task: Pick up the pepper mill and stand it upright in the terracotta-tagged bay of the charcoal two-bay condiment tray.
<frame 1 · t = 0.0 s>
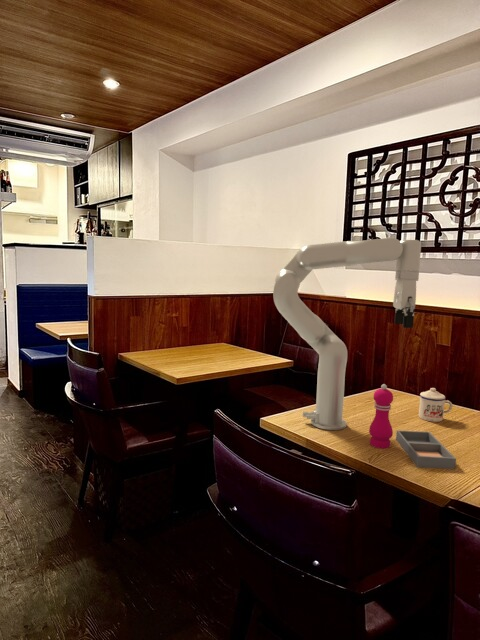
hand: (403, 325, 158), 37 cm above the table, tool pointing down, fingers open, 9 cm apart
teacup with lid: (434, 418, 174), on the table
pepper mill: (379, 445, 146), on the table
condiment tray: (423, 453, 141), on the table
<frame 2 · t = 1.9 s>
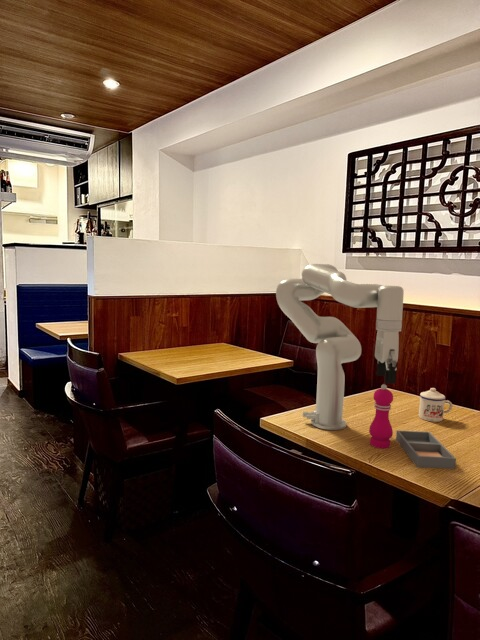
hand: (385, 379, 143), 22 cm above the table, tool pointing down, fingers open, 9 cm apart
nothing on the table moved.
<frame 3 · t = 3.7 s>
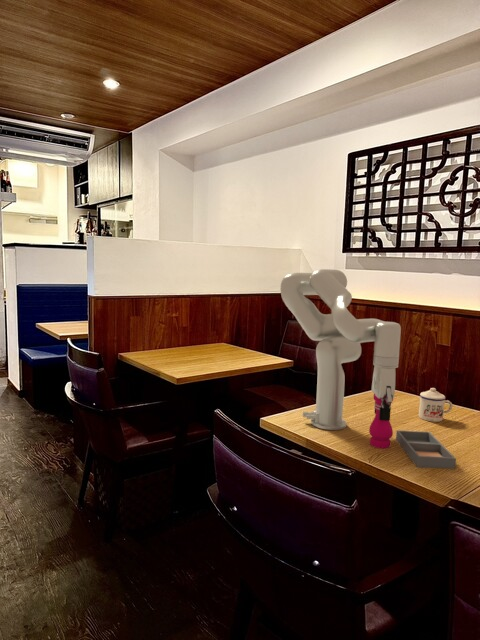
hand: (381, 416, 145), 9 cm above the table, tool pointing down, fingers closed on pepper mill, 5 cm apart
pepper mill: (379, 445, 146), on the table, touching gripper
everything else where it was.
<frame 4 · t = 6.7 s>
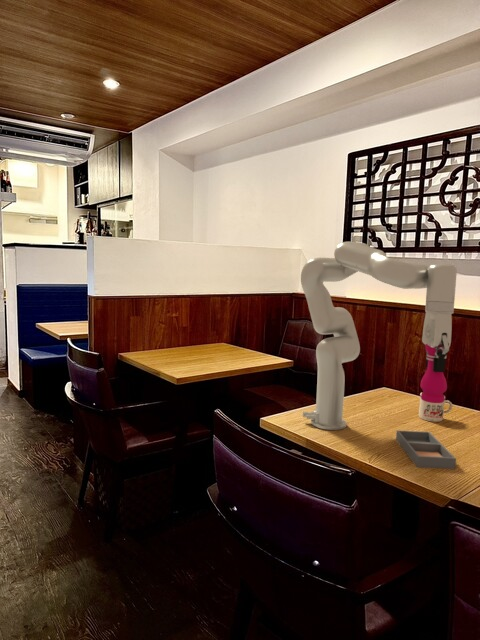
hand: (434, 368, 132), 28 cm above the table, tool pointing down, fingers closed on pepper mill, 5 cm apart
pepper mill: (432, 400, 134), point 18 cm above the table, touching gripper
everything else where it was.
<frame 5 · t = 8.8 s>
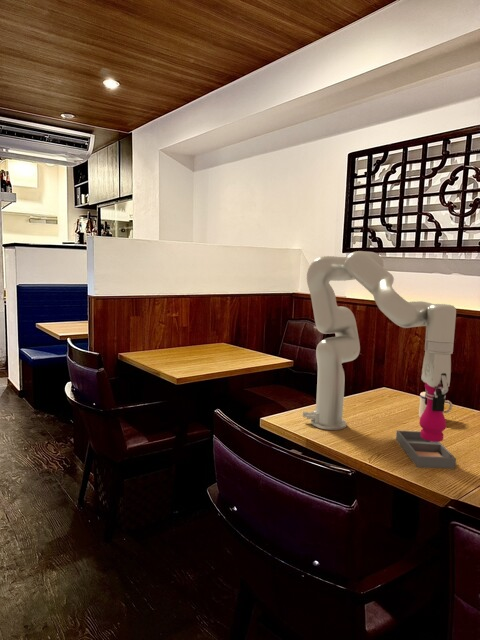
hand: (434, 407, 133), 16 cm above the table, tool pointing down, fingers closed on pepper mill, 5 cm apart
pepper mill: (431, 438, 135), point 7 cm above the table, touching gripper
everything else where it was.
when the fingers open (12 cm above the table, at t = 10.2 s): pepper mill drops 1 cm, resting on condiment tray.
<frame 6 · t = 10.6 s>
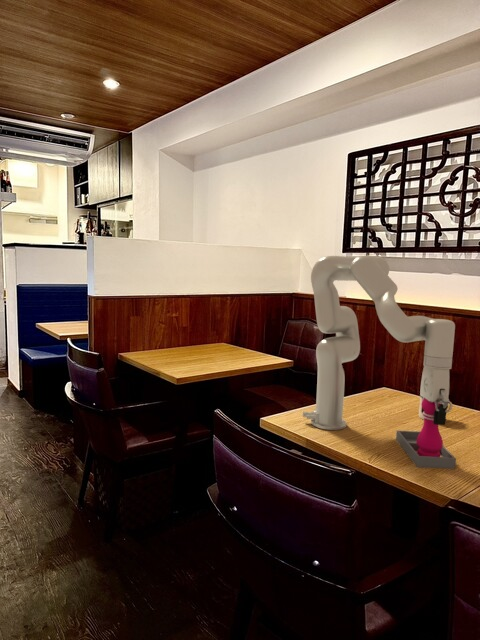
hand: (432, 418, 134), 13 cm above the table, tool pointing down, fingers open, 9 cm apart
pepper mill: (428, 457, 135), point 1 cm above the table, touching condiment tray
everything else where it was.
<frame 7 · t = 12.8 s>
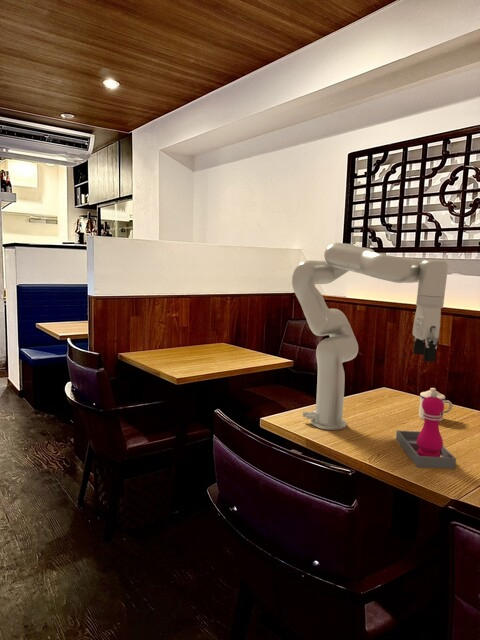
hand: (423, 357, 138), 30 cm above the table, tool pointing down, fingers open, 9 cm apart
nothing on the table moved.
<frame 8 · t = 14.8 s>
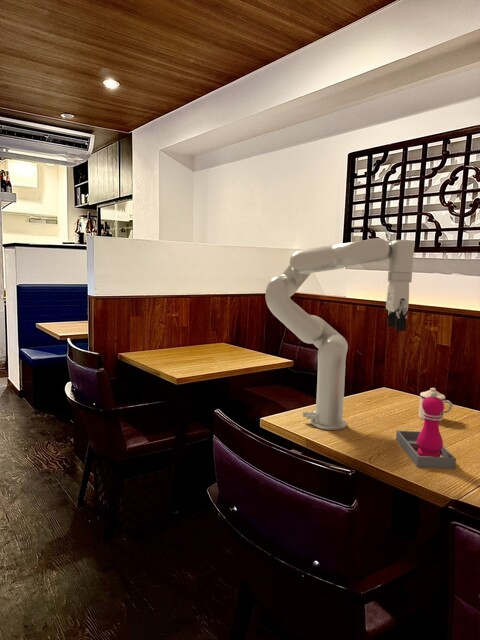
hand: (396, 328, 153), 36 cm above the table, tool pointing down, fingers open, 9 cm apart
nothing on the table moved.
at the end: pepper mill 0.3 cm from the target spot on the condiment tray, point 0.7 cm above the condiment tray's base; pepper mill tilted 0°; the gripper is holding nothing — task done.
